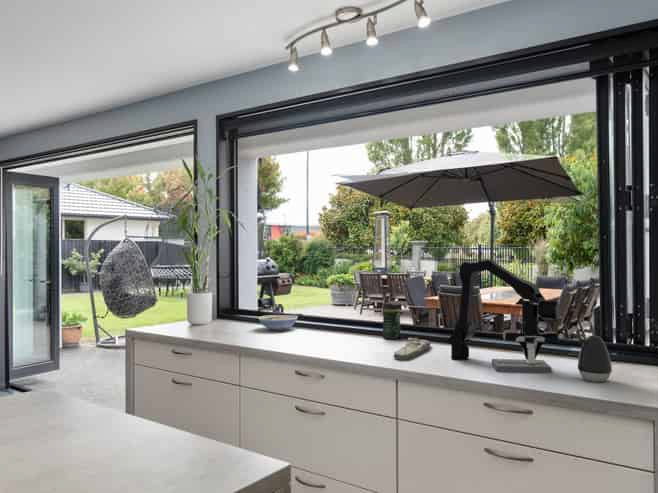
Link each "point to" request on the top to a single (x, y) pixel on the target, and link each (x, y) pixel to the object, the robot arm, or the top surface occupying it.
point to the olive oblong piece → (412, 349)
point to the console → (520, 366)
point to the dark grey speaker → (594, 360)
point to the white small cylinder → (530, 355)
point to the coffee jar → (391, 320)
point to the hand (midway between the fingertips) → (530, 359)
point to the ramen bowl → (278, 321)
